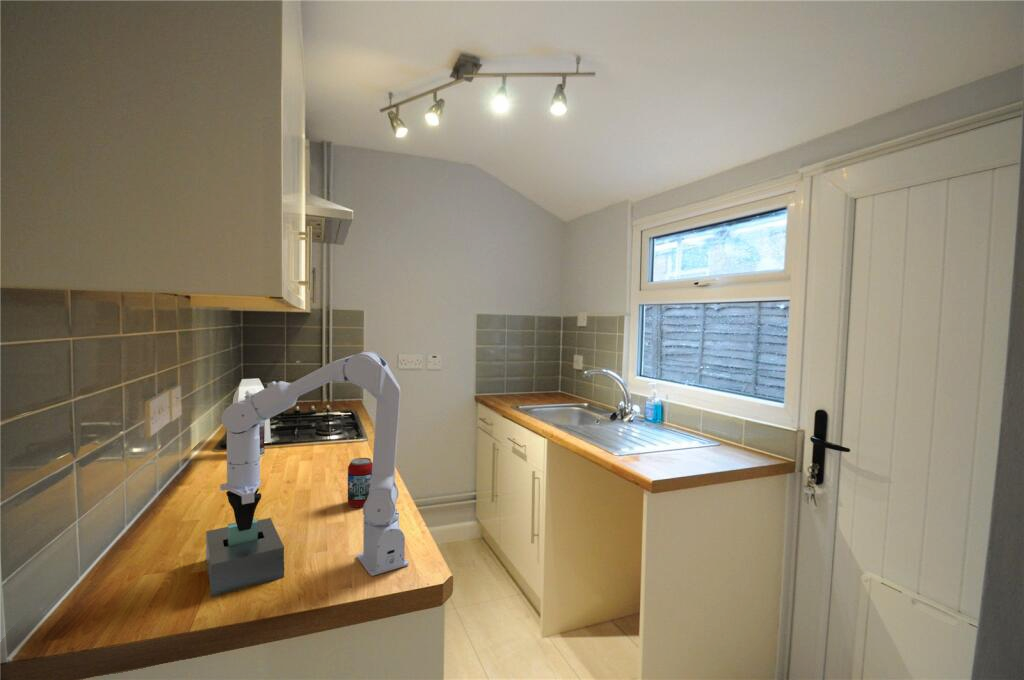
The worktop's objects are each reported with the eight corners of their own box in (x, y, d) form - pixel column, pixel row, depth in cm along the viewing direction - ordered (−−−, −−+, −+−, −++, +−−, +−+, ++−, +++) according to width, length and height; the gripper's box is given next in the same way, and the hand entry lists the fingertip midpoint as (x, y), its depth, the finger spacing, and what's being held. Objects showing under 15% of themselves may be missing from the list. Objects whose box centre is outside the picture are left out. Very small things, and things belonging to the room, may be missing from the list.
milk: (264, 439, 193) (263, 376, 192) (271, 445, 184) (270, 379, 183) (230, 443, 185) (230, 378, 184) (236, 450, 176) (235, 381, 175)
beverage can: (346, 509, 124) (346, 465, 123) (348, 500, 130) (348, 457, 130) (373, 507, 126) (373, 463, 125) (373, 498, 132) (374, 456, 132)
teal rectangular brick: (257, 541, 95) (257, 521, 94) (228, 547, 92) (228, 527, 92) (256, 537, 96) (256, 518, 96) (228, 543, 93) (227, 524, 93)
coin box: (284, 577, 91) (284, 547, 91) (211, 597, 84) (210, 564, 84) (270, 544, 104) (270, 517, 104) (206, 559, 97) (206, 531, 97)
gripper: (217, 454, 97) (217, 518, 97) (223, 474, 85) (223, 547, 86) (255, 449, 101) (255, 511, 102) (266, 467, 89) (266, 537, 90)
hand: (243, 527), depth 94 cm, fingers closed on teal rectangular brick, 2 cm apart
